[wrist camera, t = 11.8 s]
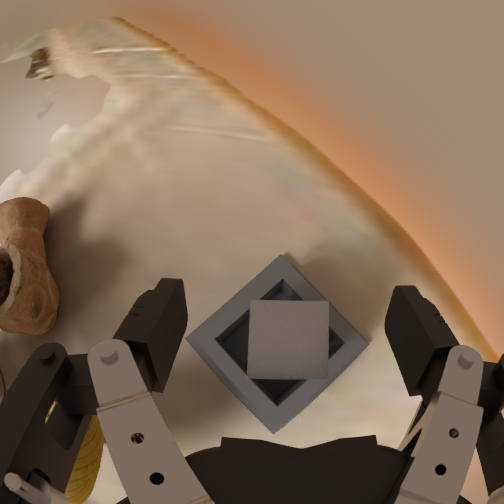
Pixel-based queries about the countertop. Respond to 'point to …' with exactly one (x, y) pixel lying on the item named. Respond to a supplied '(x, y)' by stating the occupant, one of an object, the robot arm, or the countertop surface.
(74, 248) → the countertop surface
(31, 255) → the pipe
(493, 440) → the robot arm
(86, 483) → the yellow ridged lump
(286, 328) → the block
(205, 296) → the countertop surface
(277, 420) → the well
